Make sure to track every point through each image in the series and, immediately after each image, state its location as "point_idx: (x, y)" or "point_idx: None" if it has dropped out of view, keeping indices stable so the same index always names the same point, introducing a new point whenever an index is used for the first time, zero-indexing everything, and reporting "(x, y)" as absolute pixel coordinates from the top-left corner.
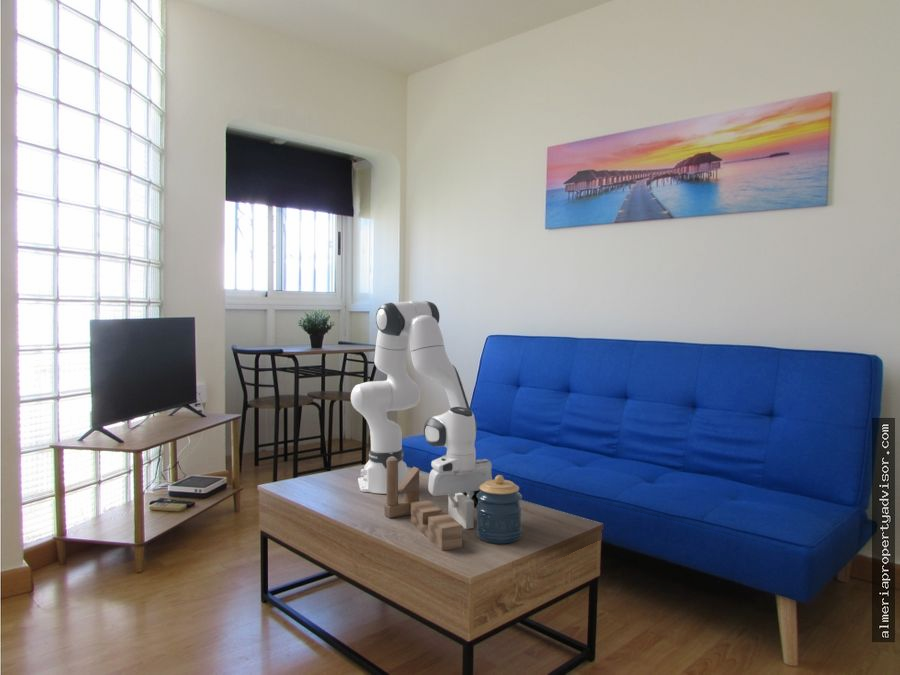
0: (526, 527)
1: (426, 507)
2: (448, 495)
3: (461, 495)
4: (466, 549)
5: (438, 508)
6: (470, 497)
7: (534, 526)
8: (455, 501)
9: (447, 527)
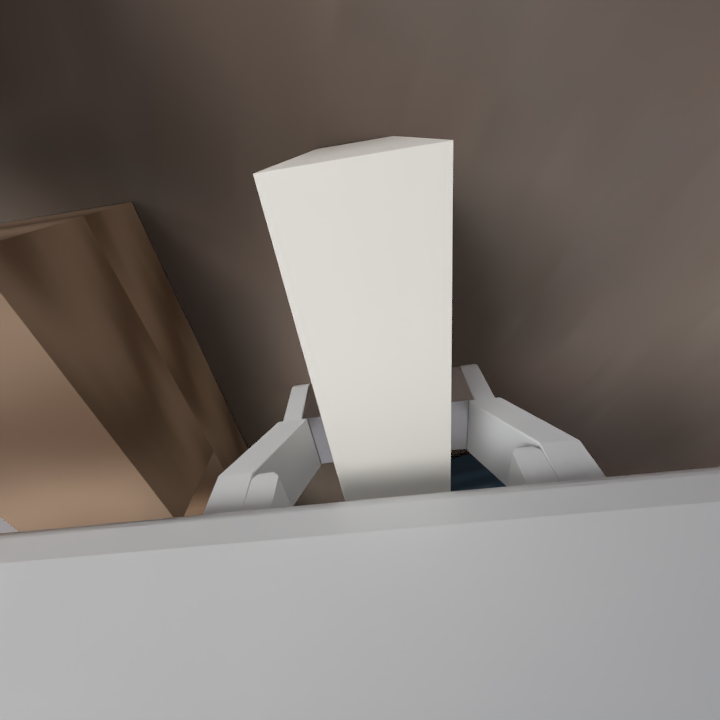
0: (669, 468)
1: (23, 465)
2: (221, 488)
3: (404, 483)
4: None
5: (147, 500)
6: (505, 475)
7: (715, 466)
8: (315, 471)
9: None
